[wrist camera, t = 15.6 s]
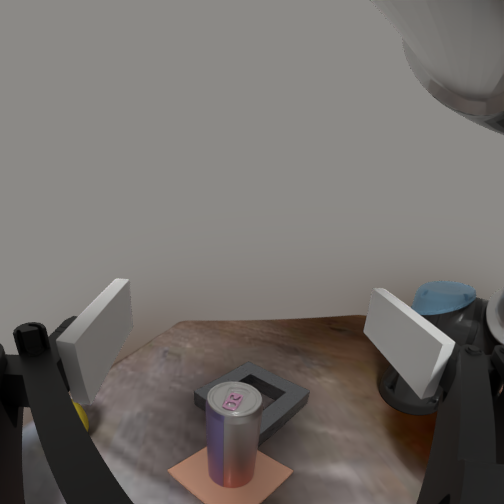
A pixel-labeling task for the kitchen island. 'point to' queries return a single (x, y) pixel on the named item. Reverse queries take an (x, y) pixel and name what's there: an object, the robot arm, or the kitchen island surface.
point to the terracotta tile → (230, 499)
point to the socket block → (267, 383)
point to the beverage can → (233, 432)
